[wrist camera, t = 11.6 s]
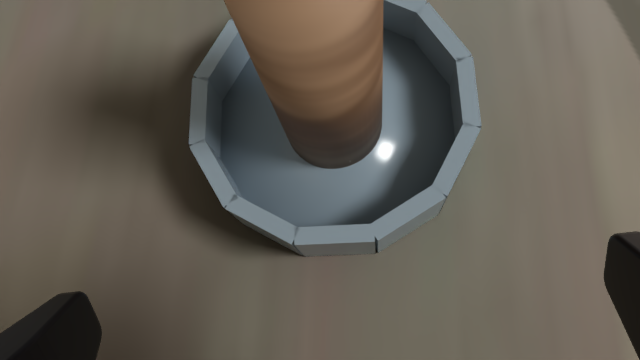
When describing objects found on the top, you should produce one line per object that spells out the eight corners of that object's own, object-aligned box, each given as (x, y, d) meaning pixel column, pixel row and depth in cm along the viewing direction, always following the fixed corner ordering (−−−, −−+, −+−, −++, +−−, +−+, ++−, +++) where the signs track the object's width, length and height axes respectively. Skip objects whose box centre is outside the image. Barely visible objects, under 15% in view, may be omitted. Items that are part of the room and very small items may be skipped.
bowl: (480, 249, 22) (495, 236, 19) (207, 260, 23) (182, 249, 20) (452, 8, 26) (461, -34, 23) (216, 28, 27) (197, -9, 24)
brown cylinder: (360, 182, 23) (341, 26, 11) (270, 149, 24) (168, -27, 12) (396, 96, 24) (411, -127, 12) (308, 68, 25) (247, -165, 13)
